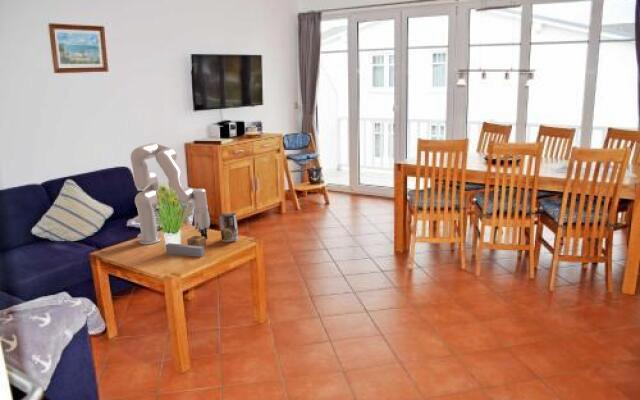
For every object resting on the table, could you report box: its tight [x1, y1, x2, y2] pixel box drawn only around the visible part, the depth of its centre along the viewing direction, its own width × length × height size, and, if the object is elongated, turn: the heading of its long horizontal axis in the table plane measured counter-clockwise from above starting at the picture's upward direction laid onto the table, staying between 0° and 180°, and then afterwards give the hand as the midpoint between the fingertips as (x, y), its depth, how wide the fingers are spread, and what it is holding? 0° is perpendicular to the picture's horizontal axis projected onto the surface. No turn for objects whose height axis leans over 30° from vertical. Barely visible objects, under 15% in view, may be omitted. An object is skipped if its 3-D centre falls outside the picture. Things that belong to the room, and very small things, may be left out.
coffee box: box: [218, 212, 240, 243], centre depth 325 cm, size 9×6×16 cm
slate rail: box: [165, 242, 205, 258], centre depth 306 cm, size 24×3×5 cm, turn 67°
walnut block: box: [186, 235, 207, 248], centre depth 316 cm, size 8×7×6 cm
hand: (204, 239), depth 323 cm, fingers closed
